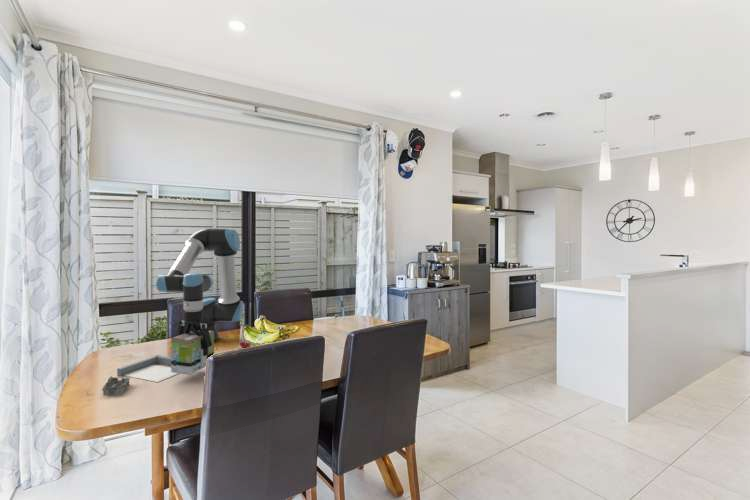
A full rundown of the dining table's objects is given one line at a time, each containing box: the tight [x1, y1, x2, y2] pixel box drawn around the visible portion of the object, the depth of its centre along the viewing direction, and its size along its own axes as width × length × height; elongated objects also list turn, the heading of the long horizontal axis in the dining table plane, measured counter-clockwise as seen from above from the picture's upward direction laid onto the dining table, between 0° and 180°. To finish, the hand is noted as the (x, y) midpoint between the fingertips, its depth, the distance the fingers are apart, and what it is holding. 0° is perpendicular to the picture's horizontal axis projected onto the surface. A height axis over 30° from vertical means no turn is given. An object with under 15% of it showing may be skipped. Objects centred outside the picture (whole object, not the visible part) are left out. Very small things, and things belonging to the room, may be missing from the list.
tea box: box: [170, 331, 215, 376], centre depth 162 cm, size 15×10×15 cm, turn 168°
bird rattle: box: [237, 341, 251, 349], centre depth 177 cm, size 6×11×9 cm
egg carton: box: [101, 375, 132, 397], centre depth 146 cm, size 11×8×4 cm
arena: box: [116, 354, 179, 383], centre depth 166 cm, size 20×22×3 cm
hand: (193, 361), depth 162 cm, fingers closed on tea box, 10 cm apart
